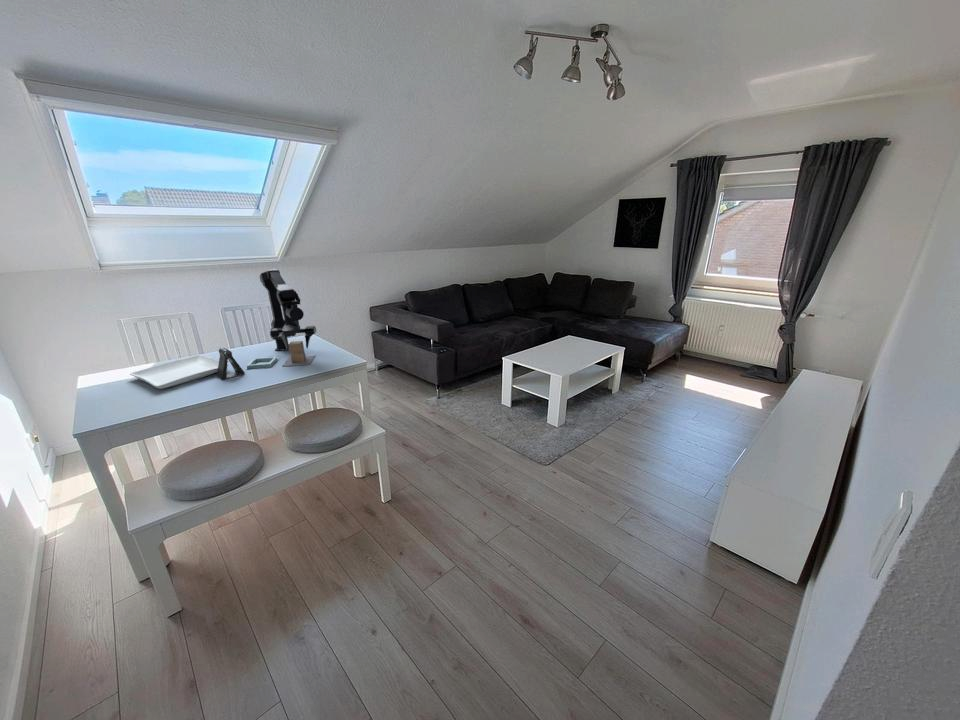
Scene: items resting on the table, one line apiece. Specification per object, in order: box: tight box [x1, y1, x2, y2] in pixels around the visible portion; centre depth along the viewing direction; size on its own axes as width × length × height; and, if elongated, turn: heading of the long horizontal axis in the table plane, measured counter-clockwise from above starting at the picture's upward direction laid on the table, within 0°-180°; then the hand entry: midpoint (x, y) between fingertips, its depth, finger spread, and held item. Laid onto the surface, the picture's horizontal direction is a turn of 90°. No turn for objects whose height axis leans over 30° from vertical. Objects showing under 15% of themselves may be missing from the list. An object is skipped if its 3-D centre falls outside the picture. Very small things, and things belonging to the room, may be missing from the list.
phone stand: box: [216, 347, 246, 381], centre depth 159 cm, size 9×6×12 cm, turn 141°
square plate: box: [129, 354, 230, 390], centre depth 161 cm, size 27×27×4 cm
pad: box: [281, 355, 316, 368], centre depth 177 cm, size 12×12×1 cm
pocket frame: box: [246, 356, 278, 370], centre depth 173 cm, size 10×10×2 cm
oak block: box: [288, 340, 306, 363], centre depth 175 cm, size 5×5×9 cm
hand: (296, 348), depth 174 cm, fingers open, 9 cm apart
